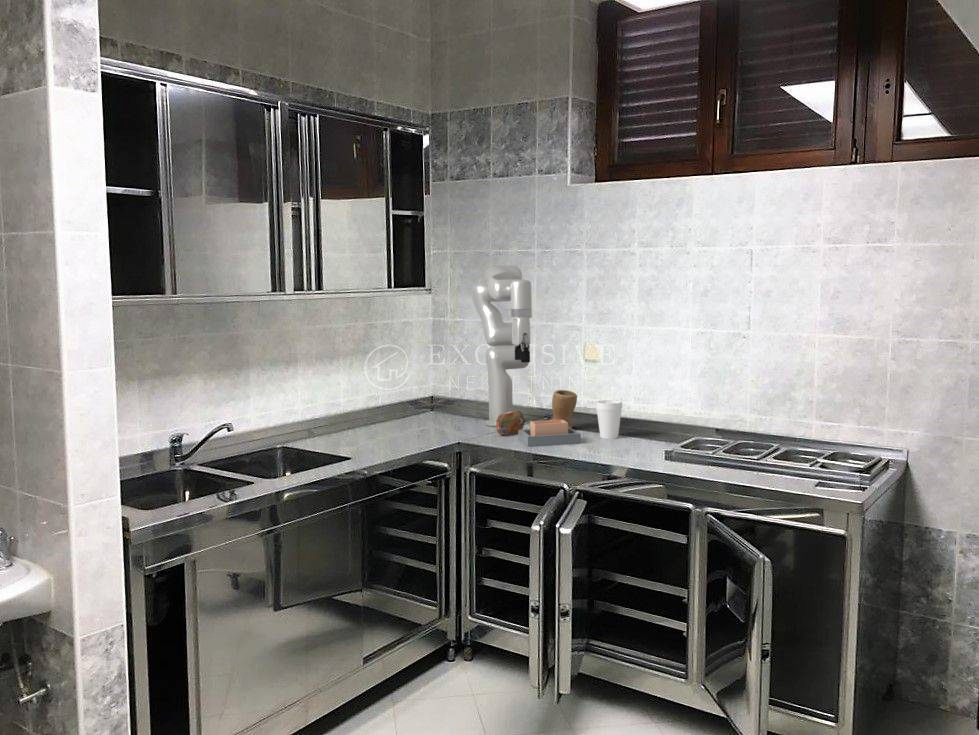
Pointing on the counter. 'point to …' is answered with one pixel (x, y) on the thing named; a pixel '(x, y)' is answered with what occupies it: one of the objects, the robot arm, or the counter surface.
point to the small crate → (548, 427)
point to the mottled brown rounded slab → (510, 423)
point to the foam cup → (609, 417)
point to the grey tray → (549, 438)
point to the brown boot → (564, 405)
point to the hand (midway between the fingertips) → (522, 361)
